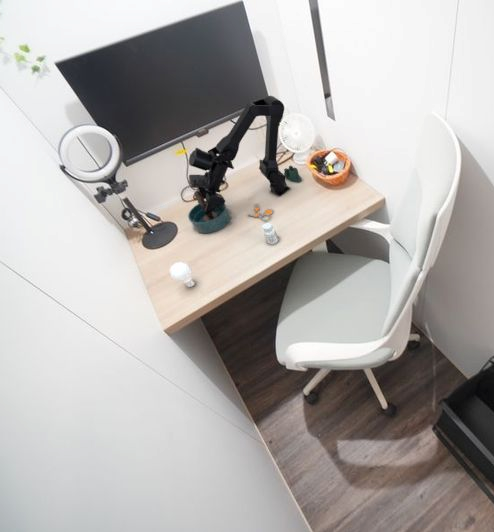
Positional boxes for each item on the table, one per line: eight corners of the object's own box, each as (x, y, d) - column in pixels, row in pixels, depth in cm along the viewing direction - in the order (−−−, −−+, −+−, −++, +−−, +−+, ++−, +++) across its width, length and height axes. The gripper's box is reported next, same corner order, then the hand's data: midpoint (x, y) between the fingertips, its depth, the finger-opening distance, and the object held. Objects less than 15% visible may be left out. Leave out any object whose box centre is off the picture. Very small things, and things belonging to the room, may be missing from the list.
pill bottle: (280, 238, 125) (275, 223, 119) (273, 245, 122) (267, 231, 116) (272, 235, 126) (266, 220, 120) (265, 242, 124) (258, 227, 118)
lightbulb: (185, 279, 116) (169, 259, 107) (202, 276, 116) (187, 256, 107) (180, 293, 112) (163, 273, 103) (198, 291, 111) (182, 271, 103)
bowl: (217, 205, 143) (211, 195, 138) (238, 218, 136) (232, 207, 131) (188, 225, 136) (181, 214, 131) (208, 239, 129) (201, 228, 124)
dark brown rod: (214, 214, 138) (198, 185, 127) (222, 219, 135) (206, 190, 124) (203, 222, 135) (185, 193, 124) (210, 227, 133) (193, 198, 121)
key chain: (277, 213, 135) (276, 211, 134) (264, 223, 131) (264, 221, 131) (256, 203, 140) (256, 202, 140) (244, 213, 137) (243, 212, 136)
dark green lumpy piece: (304, 179, 149) (301, 170, 145) (297, 184, 147) (294, 174, 144) (289, 172, 155) (286, 162, 151) (282, 176, 153) (279, 167, 149)
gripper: (188, 157, 124) (175, 192, 129) (202, 177, 113) (188, 215, 118) (216, 167, 132) (203, 199, 137) (232, 187, 121) (217, 221, 126)
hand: (202, 208), depth 129 cm, fingers open, 9 cm apart
